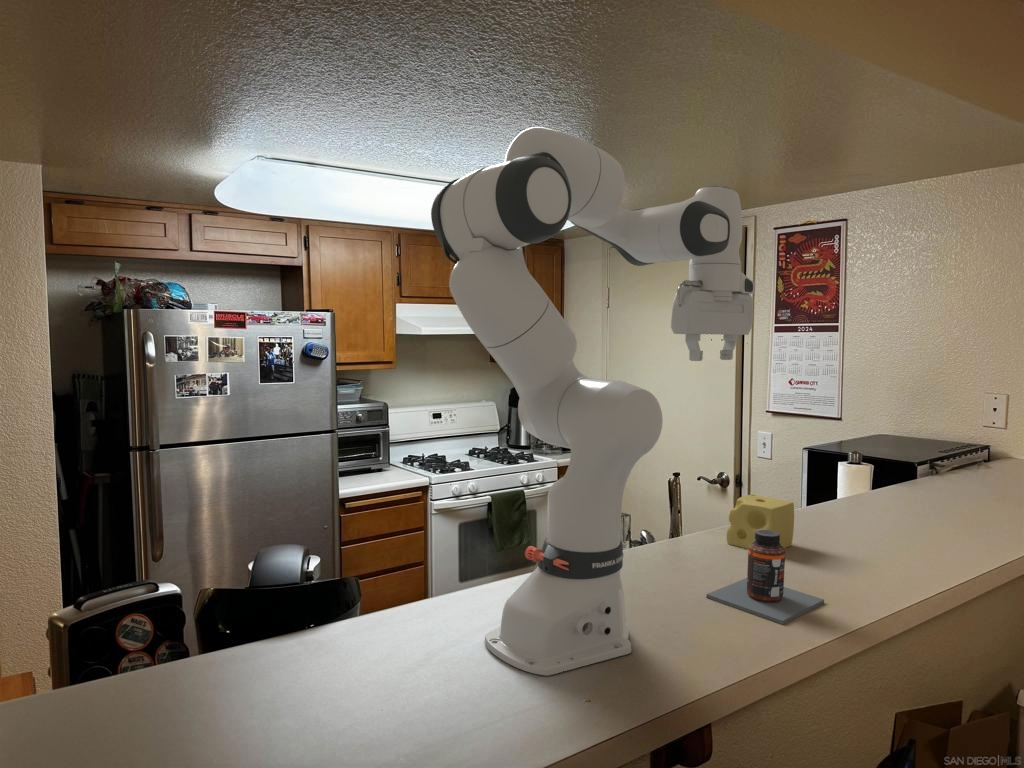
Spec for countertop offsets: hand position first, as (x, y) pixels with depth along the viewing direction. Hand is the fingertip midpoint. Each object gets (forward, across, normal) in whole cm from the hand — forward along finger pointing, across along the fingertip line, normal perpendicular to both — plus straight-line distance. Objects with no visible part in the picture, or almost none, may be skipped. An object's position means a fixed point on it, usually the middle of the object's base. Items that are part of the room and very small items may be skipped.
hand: (711, 360), depth 122 cm
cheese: (+41, +30, +6) cm, 51 cm away
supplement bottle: (+41, +2, -11) cm, 42 cm away
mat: (+41, +2, -11) cm, 43 cm away
